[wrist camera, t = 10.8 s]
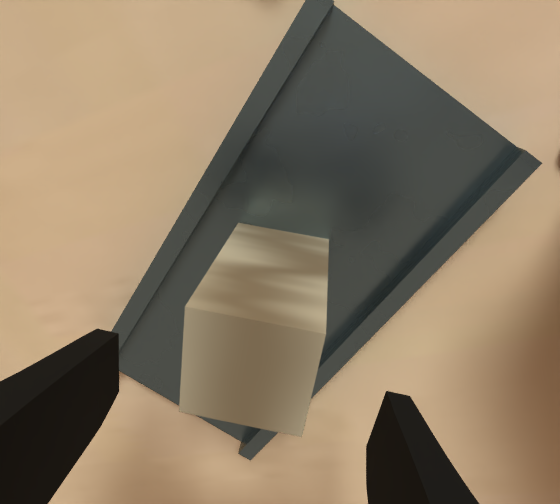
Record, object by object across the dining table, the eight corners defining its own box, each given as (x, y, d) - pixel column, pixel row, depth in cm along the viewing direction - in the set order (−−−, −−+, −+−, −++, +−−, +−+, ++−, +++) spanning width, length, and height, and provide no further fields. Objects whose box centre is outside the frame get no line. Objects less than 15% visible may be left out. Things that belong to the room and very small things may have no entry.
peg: (328, 239, 18) (325, 333, 11) (312, 316, 19) (301, 437, 13) (238, 222, 18) (184, 306, 11) (229, 300, 19) (178, 411, 13)
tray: (519, 153, 16) (542, 163, 15) (256, 431, 24) (250, 460, 22) (316, -4, 15) (314, -15, 13) (109, 344, 23) (89, 368, 21)
